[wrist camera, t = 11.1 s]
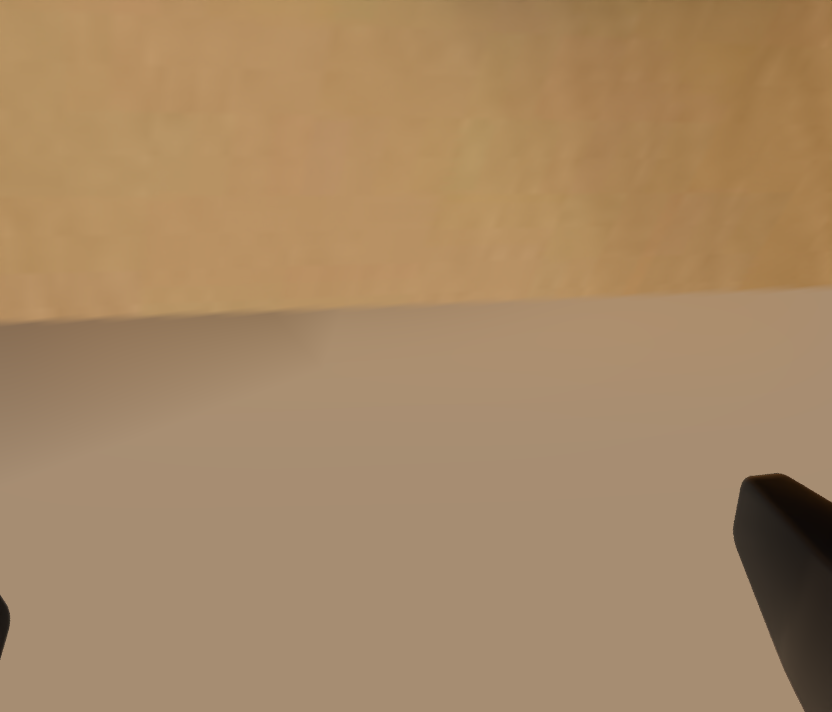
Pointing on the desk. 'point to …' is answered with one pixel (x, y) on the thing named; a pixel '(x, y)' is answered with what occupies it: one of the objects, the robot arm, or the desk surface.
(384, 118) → the desk surface
